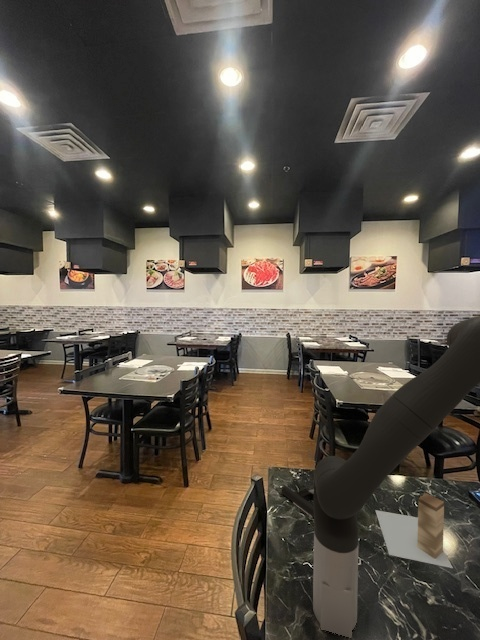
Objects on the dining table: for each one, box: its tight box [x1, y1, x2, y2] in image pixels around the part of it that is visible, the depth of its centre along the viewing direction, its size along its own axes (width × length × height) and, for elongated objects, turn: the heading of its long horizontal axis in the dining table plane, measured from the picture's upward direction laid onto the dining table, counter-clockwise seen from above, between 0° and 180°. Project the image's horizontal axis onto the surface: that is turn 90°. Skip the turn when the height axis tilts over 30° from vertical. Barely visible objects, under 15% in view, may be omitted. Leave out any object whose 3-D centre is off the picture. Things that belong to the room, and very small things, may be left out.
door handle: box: [281, 485, 314, 519], centre depth 97 cm, size 3×20×16 cm
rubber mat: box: [375, 509, 454, 569], centre depth 83 cm, size 18×15×1 cm
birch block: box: [417, 493, 445, 559], centre depth 77 cm, size 4×4×14 cm
